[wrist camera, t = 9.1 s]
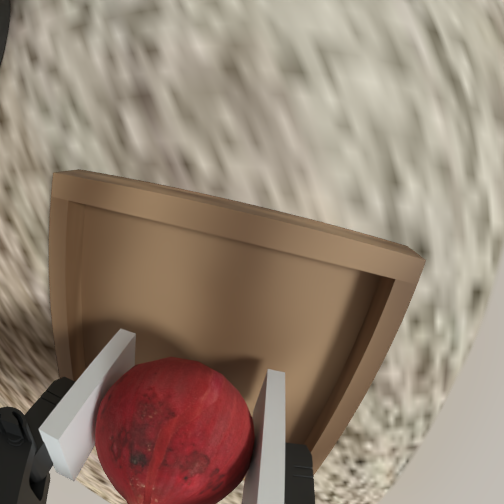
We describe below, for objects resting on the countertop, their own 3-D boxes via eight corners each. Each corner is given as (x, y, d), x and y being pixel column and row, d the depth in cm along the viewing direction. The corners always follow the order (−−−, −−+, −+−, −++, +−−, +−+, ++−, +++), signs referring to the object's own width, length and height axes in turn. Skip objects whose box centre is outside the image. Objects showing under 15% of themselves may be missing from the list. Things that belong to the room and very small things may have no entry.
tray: (82, 404, 17) (69, 423, 15) (79, 169, 13) (53, 172, 11) (303, 464, 17) (304, 487, 15) (406, 246, 12) (426, 260, 11)
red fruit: (130, 313, 13) (19, 442, 5) (264, 328, 12) (247, 510, 5) (145, 410, 14) (86, 531, 7) (256, 426, 14) (239, 569, 6)
